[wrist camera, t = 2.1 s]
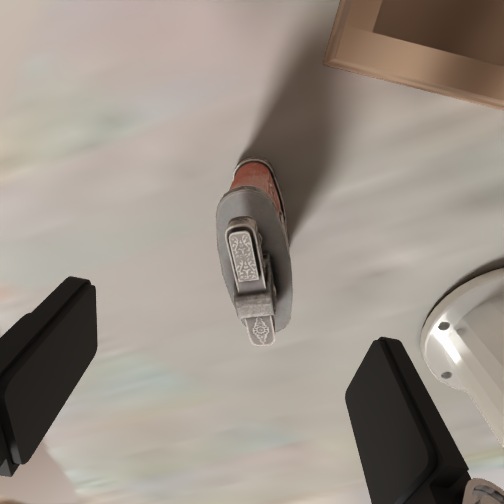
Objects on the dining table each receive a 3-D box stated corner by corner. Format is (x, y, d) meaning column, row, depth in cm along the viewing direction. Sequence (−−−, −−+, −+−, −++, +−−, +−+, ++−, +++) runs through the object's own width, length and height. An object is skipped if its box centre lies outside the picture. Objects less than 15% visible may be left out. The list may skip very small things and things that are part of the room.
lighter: (292, 262, 23) (304, 368, 14) (248, 267, 24) (233, 373, 15) (277, 152, 20) (281, 203, 11) (225, 161, 20) (187, 217, 11)
